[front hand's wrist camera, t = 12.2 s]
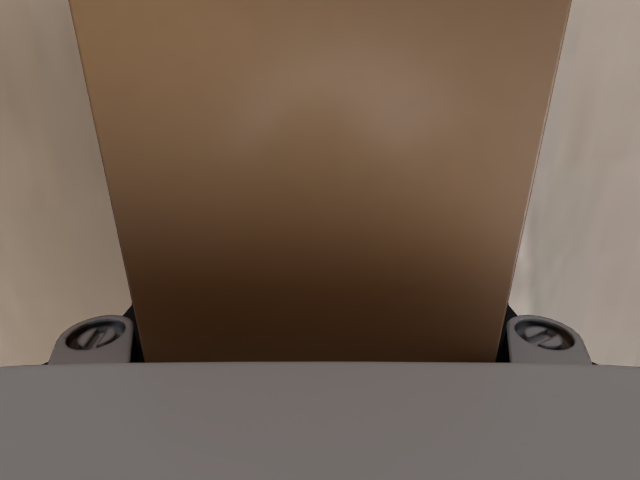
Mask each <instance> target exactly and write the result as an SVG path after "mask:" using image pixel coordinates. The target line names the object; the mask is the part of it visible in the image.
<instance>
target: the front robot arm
mask: <svg viewBox="0 0 640 480" xmlns="http://www.w3.org/2000/svg"><path fill="white" fill-rule="evenodd" d="M508 304H509V303H508ZM508 304H507V309H506V314H505V319H504V323H503V328H502V333H501V337H500V342H499V347H498V352H497V356H496V361H495V363H467V362H171V363H145V361H144V356H143V351H142V346H141V342H140V337H139V332H138V327H137V323H136V318H135V313H134V308H133V304H132V306H131V307H130V308H129V309H128V310H127V311H126V313H125V314H124V315H123V316H120V315H106V316H99V317H95V318H90V319H87V320H85V321H82V322H80V323H77V324H76V325H74V326H72V327H70V328H68V329H67V330H66V331H65V332H64V333H62V334H61V335H60V337H59V338H58V340H57V342H56V344H55V347H54V349H53V352H52V354H51V357H50V359H49V362H47V363H45V364H42V365H23V366H9V367H0V480H640V367H631V366H615V365H598V364H595V363H593V362H591V359H590V357H589V354H588V352H587V349H586V347H585V344H584V342H583V340H582V338H581V337H580V335H579V334H578V333H576V332H575V331H574V330H573V329H572V328H570V327H568V326H566V325H564V324H563V323H560V322H558V321H555V320H553V319H550V318H545V317H541V316H534V315H520V316H517V315H516V314H515V312H514V311H513V310H512V309H511V308H510V306H509V305H508Z"/></svg>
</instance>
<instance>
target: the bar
mask: <svg viewBox="0 0 640 480" xmlns="http://www.w3.org/2000/svg"><path fill="white" fill-rule="evenodd" d="M68 1H69V5H70V10H71V15H72V20H73V24H74V29H75V34H76V38H77V43H78V48H79V53H80V57H81V62H82V67H83V72H84V76H85V81H86V86H87V91H88V95H89V100H90V105H91V110H92V114H93V119H94V124H95V128H96V133H97V138H98V143H99V147H100V152H101V157H102V162H103V166H104V171H105V176H106V181H107V185H108V190H109V195H110V200H111V204H112V209H113V214H114V218H115V223H116V228H117V233H118V237H119V242H120V247H121V252H122V256H123V261H124V266H125V271H126V275H127V280H128V285H129V290H130V294H131V299H132V304H133V308H134V313H135V318H136V323H137V327H138V332H139V337H140V342H141V346H142V351H143V356H144V361H145V363H171V362H467V363H495V361H496V356H497V352H498V347H499V342H500V337H501V333H502V328H503V323H504V319H505V314H506V309H507V304H508V300H509V295H510V290H511V285H512V281H513V276H514V271H515V267H516V262H517V257H518V252H519V248H520V243H521V238H522V233H523V229H524V224H525V219H526V215H527V210H528V205H529V200H530V196H531V191H532V186H533V181H534V177H535V172H536V167H537V163H538V158H539V153H540V148H541V144H542V139H543V134H544V129H545V125H546V120H547V115H548V111H549V106H550V101H551V96H552V92H553V87H554V82H555V77H556V73H557V68H558V63H559V59H560V54H561V49H562V44H563V40H564V35H565V30H566V25H567V21H568V16H569V11H570V7H571V2H572V0H68Z"/></svg>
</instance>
